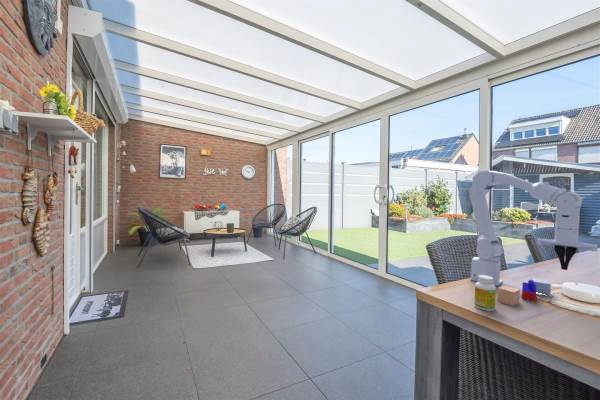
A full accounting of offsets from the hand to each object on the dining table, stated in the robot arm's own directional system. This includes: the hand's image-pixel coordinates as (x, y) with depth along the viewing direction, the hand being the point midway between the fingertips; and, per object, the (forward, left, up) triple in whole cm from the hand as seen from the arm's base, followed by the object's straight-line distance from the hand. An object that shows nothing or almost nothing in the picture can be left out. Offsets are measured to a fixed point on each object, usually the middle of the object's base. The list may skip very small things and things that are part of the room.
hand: (564, 269), depth 95 cm
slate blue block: (-6, +2, -10) cm, 12 cm away
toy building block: (-8, -7, -11) cm, 15 cm away
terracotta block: (-12, -16, -10) cm, 23 cm away
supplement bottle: (-16, -27, -11) cm, 33 cm away
